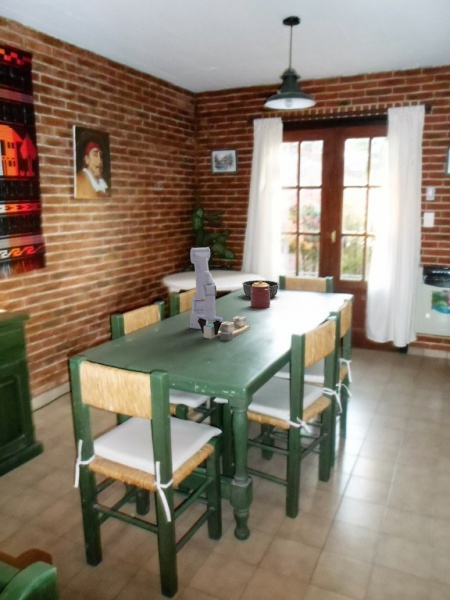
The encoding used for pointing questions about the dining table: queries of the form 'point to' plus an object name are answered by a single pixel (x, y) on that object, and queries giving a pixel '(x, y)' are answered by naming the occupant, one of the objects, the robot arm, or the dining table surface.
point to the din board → (234, 326)
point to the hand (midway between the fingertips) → (210, 333)
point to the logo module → (209, 331)
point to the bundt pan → (272, 285)
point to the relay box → (226, 336)
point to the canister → (260, 295)
